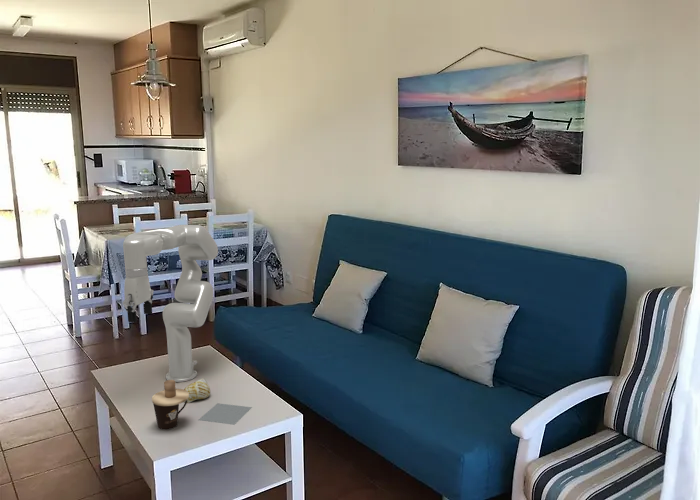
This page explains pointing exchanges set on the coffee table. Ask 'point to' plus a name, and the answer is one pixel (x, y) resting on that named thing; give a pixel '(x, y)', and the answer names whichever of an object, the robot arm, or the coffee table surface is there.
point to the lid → (170, 395)
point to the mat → (225, 413)
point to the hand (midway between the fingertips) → (140, 317)
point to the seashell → (198, 390)
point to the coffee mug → (167, 416)
